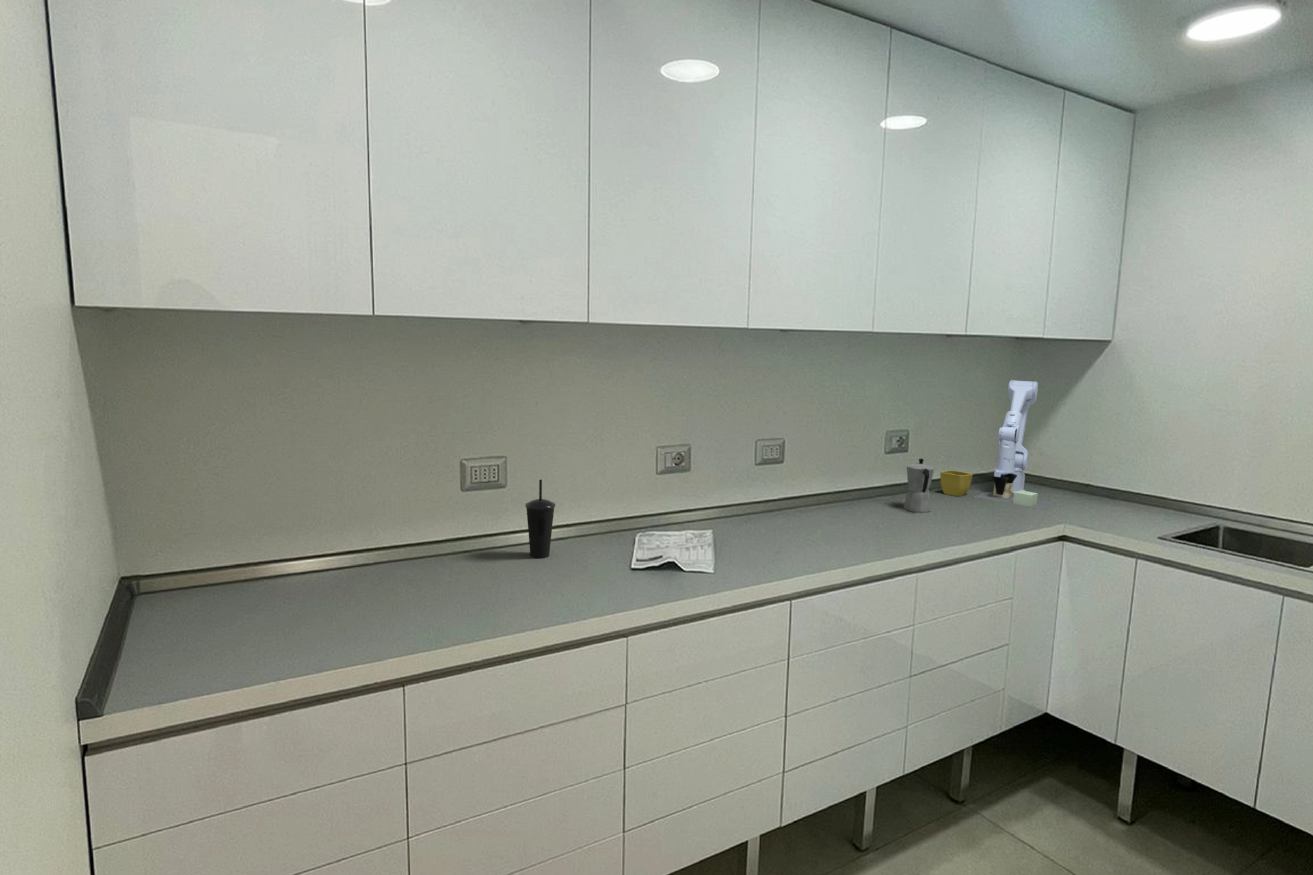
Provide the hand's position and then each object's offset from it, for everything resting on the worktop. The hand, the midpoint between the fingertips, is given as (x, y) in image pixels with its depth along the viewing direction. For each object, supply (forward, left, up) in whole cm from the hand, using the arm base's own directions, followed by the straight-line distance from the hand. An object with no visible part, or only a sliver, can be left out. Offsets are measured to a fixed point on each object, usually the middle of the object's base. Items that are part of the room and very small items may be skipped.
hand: (1002, 493), depth 274 cm
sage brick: (+5, +10, -1) cm, 11 cm away
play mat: (+3, +5, -2) cm, 6 cm away
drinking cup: (+178, -45, -2) cm, 184 cm away
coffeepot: (+46, -10, -2) cm, 47 cm away
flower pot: (+12, -13, -2) cm, 18 cm away
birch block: (0, 0, -1) cm, 1 cm away
